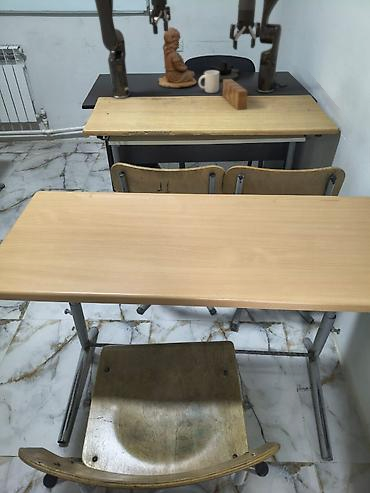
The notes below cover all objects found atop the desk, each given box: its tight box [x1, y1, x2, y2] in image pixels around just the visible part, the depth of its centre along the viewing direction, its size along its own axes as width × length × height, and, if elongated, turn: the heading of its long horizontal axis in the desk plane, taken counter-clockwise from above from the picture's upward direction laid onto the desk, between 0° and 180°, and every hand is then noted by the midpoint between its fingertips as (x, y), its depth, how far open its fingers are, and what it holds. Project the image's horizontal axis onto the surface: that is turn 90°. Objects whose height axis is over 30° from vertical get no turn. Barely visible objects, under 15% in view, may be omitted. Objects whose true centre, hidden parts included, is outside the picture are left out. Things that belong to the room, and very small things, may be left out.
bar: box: [221, 79, 249, 110], centre depth 191 cm, size 24×5×9 cm, turn 15°
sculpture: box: [157, 27, 198, 89], centre depth 214 cm, size 27×24×30 cm
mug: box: [197, 69, 220, 94], centre depth 205 cm, size 12×8×10 cm
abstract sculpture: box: [202, 58, 240, 83], centre depth 228 cm, size 25×9×20 cm
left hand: (161, 32), depth 179 cm, fingers open, 8 cm apart
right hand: (243, 48), depth 170 cm, fingers open, 8 cm apart
